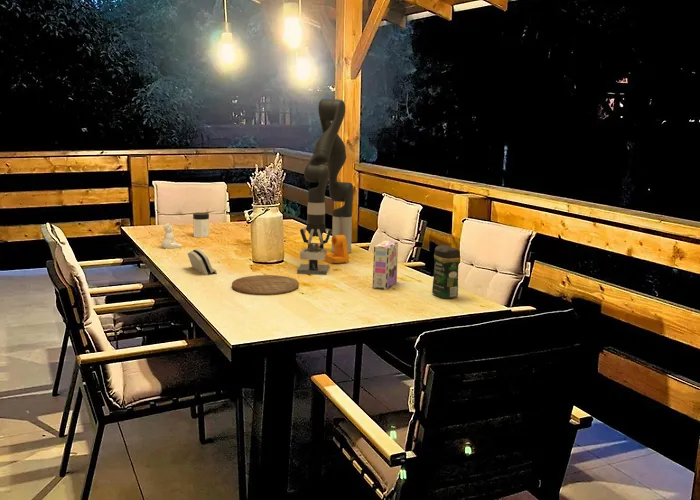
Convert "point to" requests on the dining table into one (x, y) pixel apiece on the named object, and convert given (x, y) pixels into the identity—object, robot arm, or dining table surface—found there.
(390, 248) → the candy box
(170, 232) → the white creature statuette
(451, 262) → the coffee jar
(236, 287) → the trivet
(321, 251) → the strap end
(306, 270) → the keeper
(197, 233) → the jar
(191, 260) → the beige fin shape
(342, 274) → the dining table surface
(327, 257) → the bracket
